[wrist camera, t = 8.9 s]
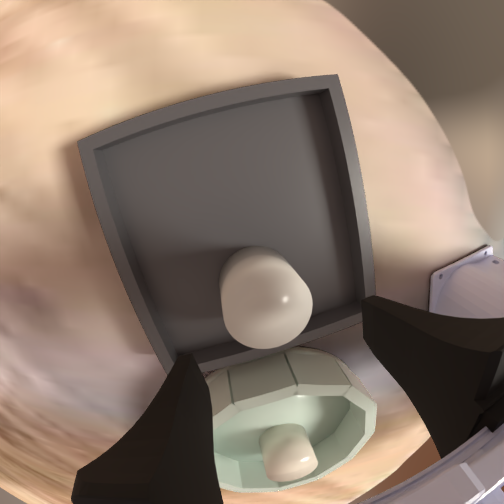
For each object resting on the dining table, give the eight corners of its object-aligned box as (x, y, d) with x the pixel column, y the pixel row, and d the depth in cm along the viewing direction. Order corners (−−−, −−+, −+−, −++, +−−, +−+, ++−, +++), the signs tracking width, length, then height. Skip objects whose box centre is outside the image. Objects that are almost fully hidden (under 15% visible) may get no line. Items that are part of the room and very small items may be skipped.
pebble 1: (283, 236, 17) (304, 257, 14) (297, 301, 19) (317, 333, 15) (209, 257, 17) (211, 284, 13) (230, 321, 19) (237, 358, 15)
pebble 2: (302, 417, 23) (316, 450, 19) (307, 442, 24) (319, 471, 20) (253, 431, 22) (261, 466, 19) (264, 454, 24) (271, 485, 20)
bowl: (350, 320, 21) (378, 352, 17) (355, 429, 26) (371, 458, 22) (156, 376, 20) (149, 418, 16) (219, 470, 25) (223, 502, 21)
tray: (321, 84, 16) (337, 74, 14) (360, 300, 21) (376, 315, 19) (93, 143, 15) (77, 141, 13) (172, 358, 20) (170, 380, 18)
